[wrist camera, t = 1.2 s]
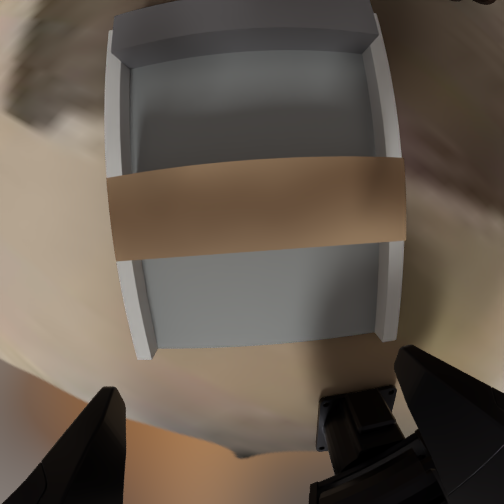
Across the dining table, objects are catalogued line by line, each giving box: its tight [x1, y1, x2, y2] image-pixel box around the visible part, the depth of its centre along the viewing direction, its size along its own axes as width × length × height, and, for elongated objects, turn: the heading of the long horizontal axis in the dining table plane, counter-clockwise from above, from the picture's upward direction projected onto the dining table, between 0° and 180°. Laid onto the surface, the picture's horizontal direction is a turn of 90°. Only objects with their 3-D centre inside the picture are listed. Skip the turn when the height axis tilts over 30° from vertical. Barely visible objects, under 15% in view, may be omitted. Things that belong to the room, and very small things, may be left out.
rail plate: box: [104, 0, 404, 360], centre depth 16 cm, size 21×18×4 cm
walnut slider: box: [107, 156, 406, 262], centre depth 15 cm, size 4×14×4 cm, turn 94°
